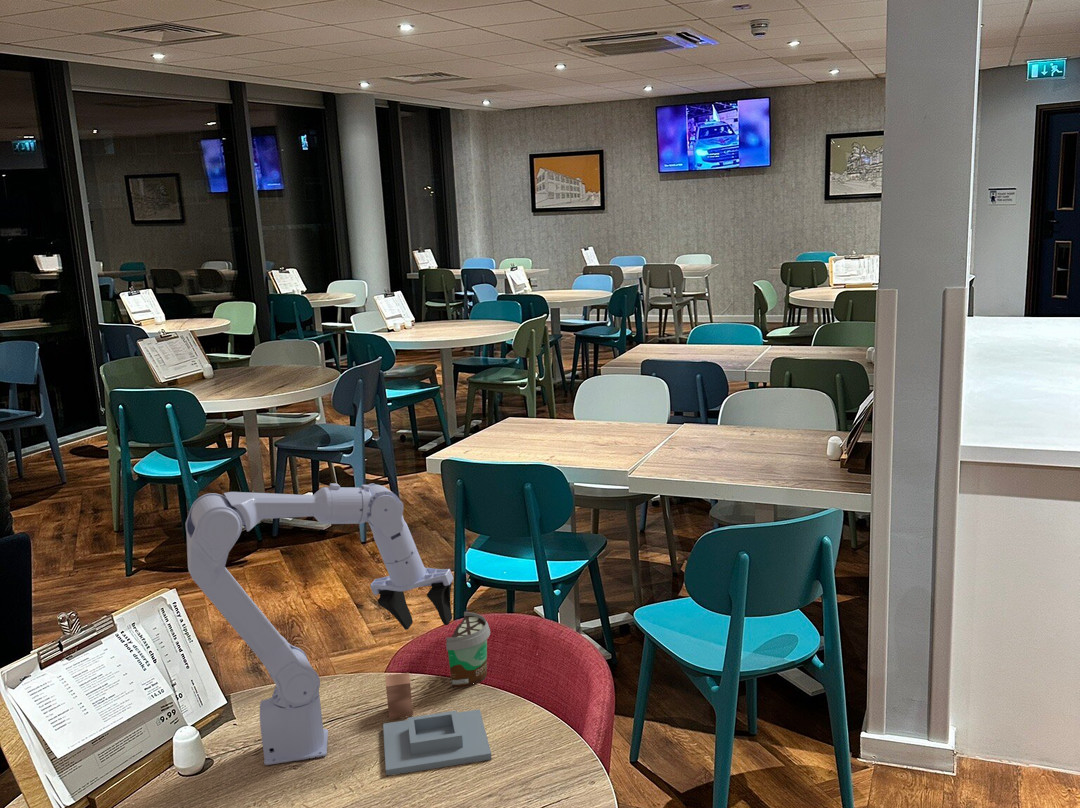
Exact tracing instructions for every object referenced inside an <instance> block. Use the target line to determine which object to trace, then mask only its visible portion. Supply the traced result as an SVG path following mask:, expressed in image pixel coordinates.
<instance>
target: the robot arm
mask: <svg viewBox="0 0 1080 808" xmlns="http://www.w3.org/2000/svg"><path fill="white" fill-rule="evenodd" d="M404 508H405V507H404V503H403V501H401V500H400V497H398V495H397V494H395V493H394V492H393V491H391V490H390V489H388V488H387V487H385V486H384V485H380V484H375V483H369V484H361V487H354V486H353V487H351V486H350V487H341V485H339V484H338V483H336V482H335V483H331V482H330V484H329V487H328V486H327V487H323V486H322V487H321V488H319V490H317V491H316V492H315V493H314V494H293V493H270V492H250V491H249V492H248V491H247V492H246V491H245V492H243V491H242V492H241V491H228V492H223V494H219V493H216V492H215V493H214V492H213V493H211V492H209V493H205V494H203V495H201V496H199V497H198V498H197V499H195V500H194V501H193V503H192V505H191V507H190V509H189V511H188V515H187V518H186V521H185V532H186V554H187V557H186V558H187V570H188V573H189V574H190V577H191V579H192V581H193V582H194V583H195V584H196V585H197V586H198V588H199V589H200V590H201V591H202V593H203V594H205V596H206V597H207V598H208V600H209V601H210V602H211V603H212V604H213V605H214V606H215V608H216V609H217V611H219V612H220V614H221V615H222V616H223V618H224V619H226V621H227V623H229V624H230V626H231V627H232V628H233V629H234V630H235V632H236V633H237V634H238V636H240V638H241V639H242V640H243V641H244V642H245V643H246V645H247V646H248V647H249V649H250V650H251V651H252V652H253V653H254V654H255V655H256V657H257V658H258V659H259V660H260V662H261V663H262V665H263V666H264V667H265V669H266V671H267V672H268V674H269V676H270V678H271V679H272V681H273V683H274V684H275V687H274V690H273V693H272V695H271V697H269V698H265V699H262V700H260V703H259V726H260V734H261V744H262V749H263V750H262V751H263V758H264V761H263V763H264V765H265V766H269V765H270V766H271V765H276V764H281V763H282V764H283V763H289V762H297V761H302V760H309V758H310V759H315V757H316V758H322V756H323V757H326V756H327V755H328V739H329V730H328V729H327V728H324V724H323V715H322V714H323V713H322V706H321V696H320V687H321V679H320V676H319V674H318V672H317V671H316V670H315V669H314V668H313V666H312V665H311V662H310V661H309V659H308V657H307V654H306V652H305V651H303V650H302V648H299V647H297V646H294V645H292V644H291V643H289V642H288V640H287V639H286V638H285V637H284V636H283V635H281V634H280V632H279V631H278V629H276V627H275V626H274V625H273V624H272V623H271V621H270V620H269V619H268V617H267V616H266V615H265V613H264V612H263V611H262V610H261V609H260V608H259V606H258V605H257V604H256V603H255V602H254V600H253V599H252V598H251V596H249V594H248V593H247V592H246V591H245V590H244V588H243V587H242V585H240V583H239V582H238V581H237V580H236V578H235V577H234V576H233V575H232V574H231V572H230V571H229V570H228V568H227V567H226V564H227V560H228V557H229V554H230V552H231V550H232V549H233V547H234V546H235V544H236V542H237V541H238V539H239V538H240V536H241V533H242V531H243V527H244V529H245V530H246V532H250V531H251V530H252V529H253V528H254V527H256V525H258V524H259V523H260V521H262V520H265V519H268V520H269V519H270V520H271V519H288V518H305V517H314V518H315V520H316V521H317V522H318V523H320V524H321V525H346V524H347V525H351V524H352V525H353V524H354V525H359V524H364V523H368V525H369V527H370V530H371V532H372V534H373V539H374V542H375V544H376V546H377V550H378V551H379V554H380V557H381V559H382V561H383V564H384V566H385V568H386V570H387V574H388V575H386V576H384V577H380V578H374V580H373V581H372V582H371V583H370V585H369V587H370V590H371V592H372V594H373V596H378V595H379V598H378V599H377V604H378V606H380V607H381V608H384V609H385V610H386V611H387V612H388V613H390V614H391V615H392V616H393V617H394V618H395V619H396V621H397V622H398V623H399V624H400V625H401V627H402V628H403V629H404V630H407V631H408V630H409V629H410V627H411V626H412V624H413V623H414V621H413V620H414V619H413V617H412V614H411V611H410V609H409V607H408V604H407V600H406V597H405V592H408V591H410V590H414V589H417V588H423V587H429V586H431V588H430V589H429V591H428V592H427V594H426V597H427V599H429V600H430V602H431V603H432V604H433V606H434V608H435V609H436V611H437V613H438V615H439V618H440V620H441V622H442V624H443V626H448V625H450V623H451V621H452V620H453V615H452V607H451V594H452V593H451V591H452V584H453V581H454V576H453V573H452V571H451V568H445V569H444V568H441V569H440V568H432V567H425V564H423V561H422V558H421V556H420V554H419V550H418V548H417V546H416V543H415V541H414V538H413V535H412V534H411V531H410V529H409V527H408V523H407V522H406V521H405V519H404Z"/></svg>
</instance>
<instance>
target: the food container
mask: <svg viewBox="0 0 1080 808" xmlns="http://www.w3.org/2000/svg"><path fill="white" fill-rule="evenodd" d="M463 616H464V617H463V619H462V621H461V622H460V623H459V624H458V625H457V626H456V628H455V629H454V631H453V634H452V635H451V637H446V638H445V639H446V642H445V647H446V651H447V656H448V665H449V673H450V679H451V686H452V687H451V688H452V689H463V688H468V687H473V686H476V685H478V684H480V683H482V682H483V681H484V680H485V679H486V678H487V676H488V673H487V672H488V659H487V658H488V639H489V637H490V635H491V629H490V626H489V623H488V621H487V619H486V618H485V617H484V616H483V615H481V614H478V613H475V612H470V611H464V612H463ZM473 683H474V684H473Z"/></svg>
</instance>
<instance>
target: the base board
mask: <svg viewBox="0 0 1080 808" xmlns="http://www.w3.org/2000/svg"><path fill="white" fill-rule="evenodd" d="M382 725H383V726H382V727H383V744H384V745H383V747H384V748H383V749H384V763H385V764H384V765H385V776H386V775H390V776H394V775H393V774H396V775H401V774H400V773H402V774H406V773H408V772H409V773H414V772H420V771H421V772H422V771H426V770H427V771H428V770H432V769H438V768H439V769H440V768H445V767H452V766H456V765H463V764H471V763H477V762H482V761H489V760H490V761H491V760H493V759H492V751H491V747H490V744H489V740H488V736H487V735H488V734H487V732H486V728H485V723H484V721H483V716H482V713H481V709H473V710H472V709H471V710H466V711H459V712H458V710H451V711H450V710H449V711H443V712H438V713H432V714H431V713H430V714H425V715H418V716H411V717H407V719H405V720H399V721H392V722H385V723H383V724H382ZM409 773H408V774H409Z"/></svg>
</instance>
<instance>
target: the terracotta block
mask: <svg viewBox="0 0 1080 808" xmlns="http://www.w3.org/2000/svg"><path fill="white" fill-rule="evenodd" d="M384 677H385V688H386V689H385V691H386V698H387V700H386V701H387V710H388V711H387V712H388V719H390V720H396V719H395V718H397V719H401V718H400V717H404V718H407V717H406V716H411V717H413V716H414V709H413V700H412V699H413V698H412V688H411V679H410V672H405V673H404V672H403V673H395V674H388V675H385V676H384ZM412 715H413V716H412Z"/></svg>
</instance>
